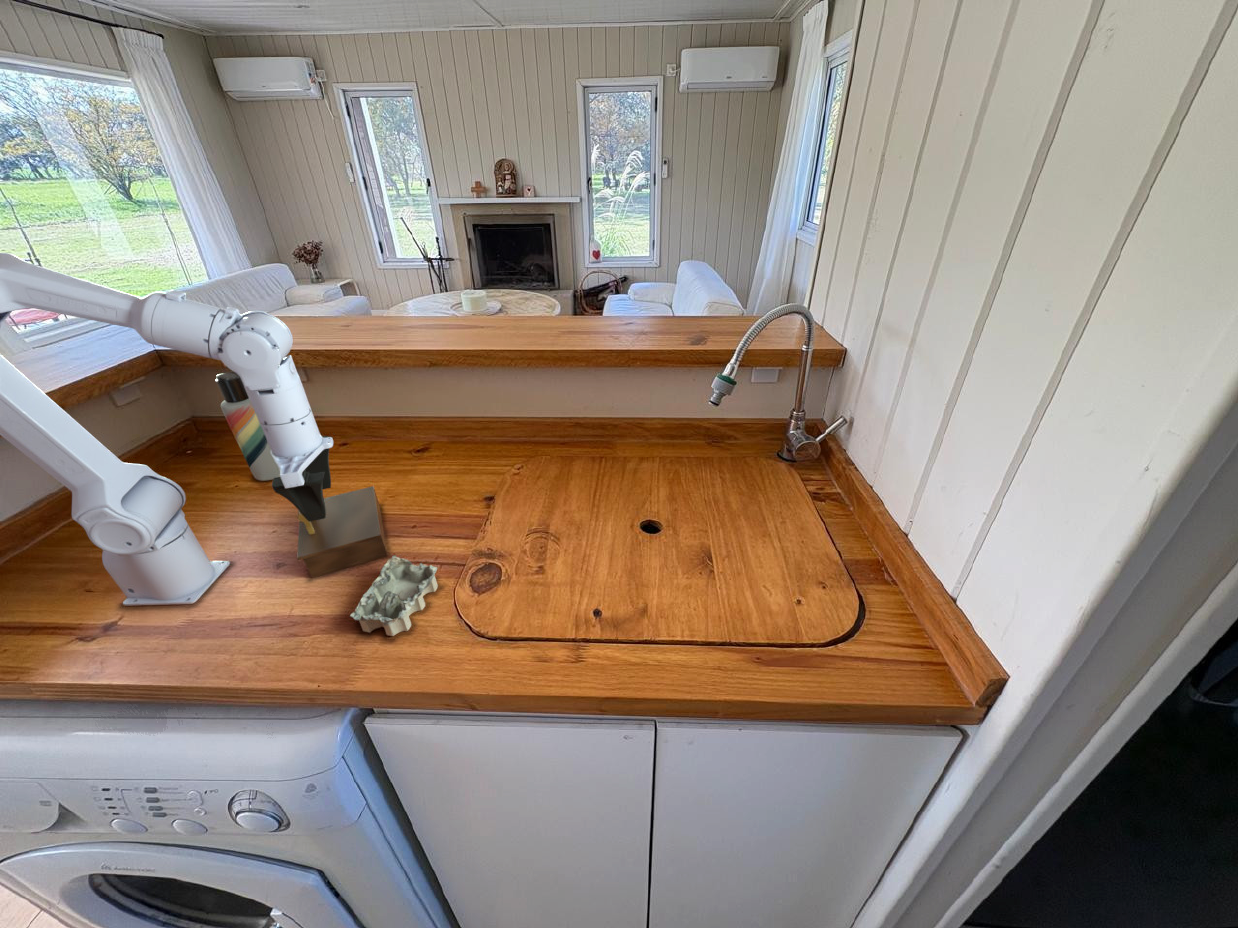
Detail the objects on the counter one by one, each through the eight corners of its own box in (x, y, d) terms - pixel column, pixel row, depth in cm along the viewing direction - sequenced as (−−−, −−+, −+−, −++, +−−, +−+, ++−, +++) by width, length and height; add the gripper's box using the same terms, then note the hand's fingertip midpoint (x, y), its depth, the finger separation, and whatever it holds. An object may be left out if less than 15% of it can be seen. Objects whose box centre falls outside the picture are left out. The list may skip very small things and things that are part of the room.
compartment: (311, 578, 71) (303, 559, 69) (313, 522, 82) (305, 505, 80) (387, 556, 75) (381, 537, 73) (379, 505, 86) (374, 488, 84)
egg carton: (401, 572, 72) (394, 551, 70) (447, 581, 70) (442, 560, 68) (349, 630, 63) (340, 607, 61) (401, 642, 61) (393, 619, 59)
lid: (298, 560, 69) (286, 535, 66) (301, 506, 79) (291, 482, 77) (381, 537, 73) (373, 513, 70) (374, 488, 84) (366, 465, 81)
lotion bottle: (256, 469, 96) (210, 371, 85) (290, 462, 98) (249, 366, 87) (252, 484, 91) (203, 383, 81) (287, 477, 93) (244, 377, 83)
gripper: (314, 434, 58) (348, 526, 65) (326, 388, 69) (354, 470, 76) (243, 446, 55) (287, 539, 62) (268, 396, 67) (302, 480, 74)
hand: (320, 502), depth 69 cm, fingers open, 7 cm apart
